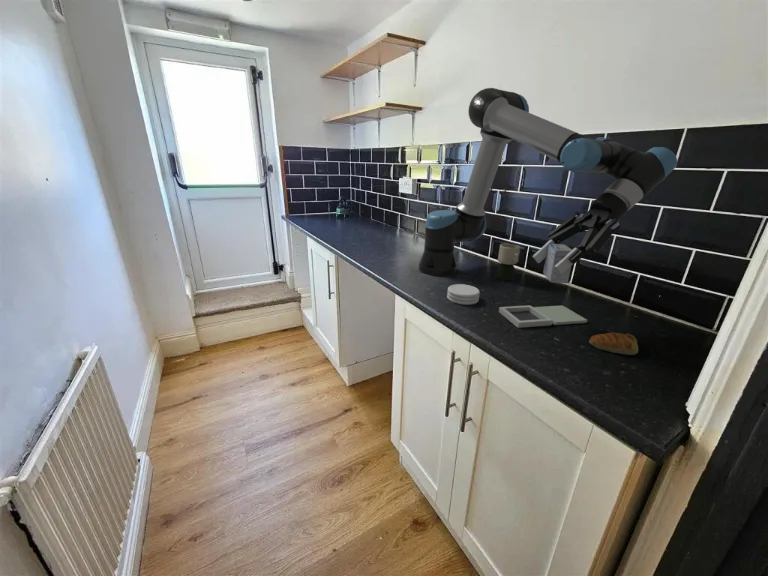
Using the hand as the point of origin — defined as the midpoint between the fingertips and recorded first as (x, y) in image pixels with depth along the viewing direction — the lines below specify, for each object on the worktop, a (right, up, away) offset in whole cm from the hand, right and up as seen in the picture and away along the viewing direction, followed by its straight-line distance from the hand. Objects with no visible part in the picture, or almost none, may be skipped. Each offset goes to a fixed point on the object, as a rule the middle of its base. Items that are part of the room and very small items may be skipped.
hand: (546, 264), depth 86 cm
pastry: (+12, -21, -8) cm, 25 cm away
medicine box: (+3, -4, +2) cm, 5 cm away
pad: (+7, -14, +8) cm, 18 cm away
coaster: (-18, -10, +19) cm, 28 cm away
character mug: (+3, -3, +38) cm, 38 cm away
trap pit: (-3, -15, +6) cm, 16 cm away
